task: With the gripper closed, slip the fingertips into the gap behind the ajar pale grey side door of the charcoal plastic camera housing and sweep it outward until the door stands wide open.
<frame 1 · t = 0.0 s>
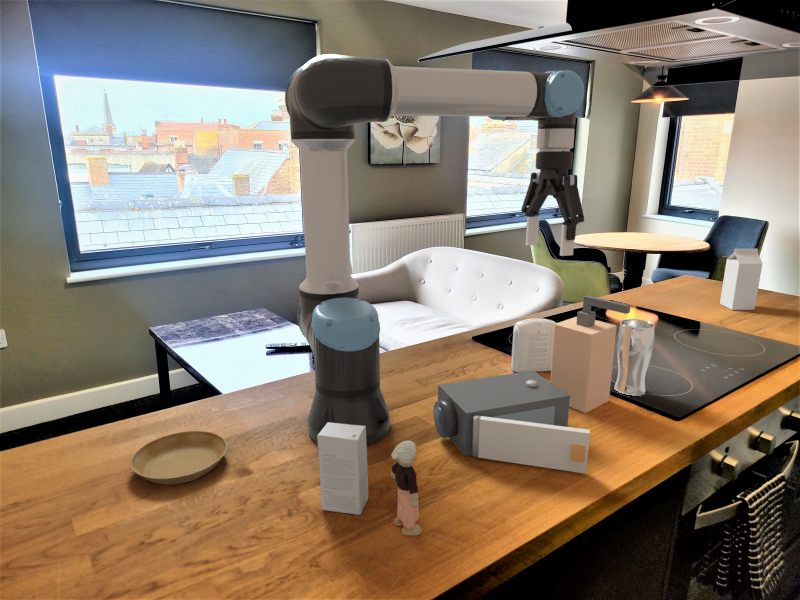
hand: (548, 249, 123), 28 cm above the kitchen counter, fingers open, 13 cm apart
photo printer: (532, 370, 129), on the kitchen counter
milk carton: (736, 307, 178), on the kitchen counter
soap dispenser: (587, 404, 112), on the kitchen counter
beer glass: (629, 391, 118), on the kitchen counter
skincare box: (345, 505, 81), on the kitchen counter
grandmother figurine: (406, 524, 77), on the kitchen counter
side door: (528, 444, 89), point 4 cm above the kitchen counter, hinge at 35.0°
camera housing: (500, 430, 102), on the kitchen counter
plant saucer: (182, 467, 91), on the kitchen counter
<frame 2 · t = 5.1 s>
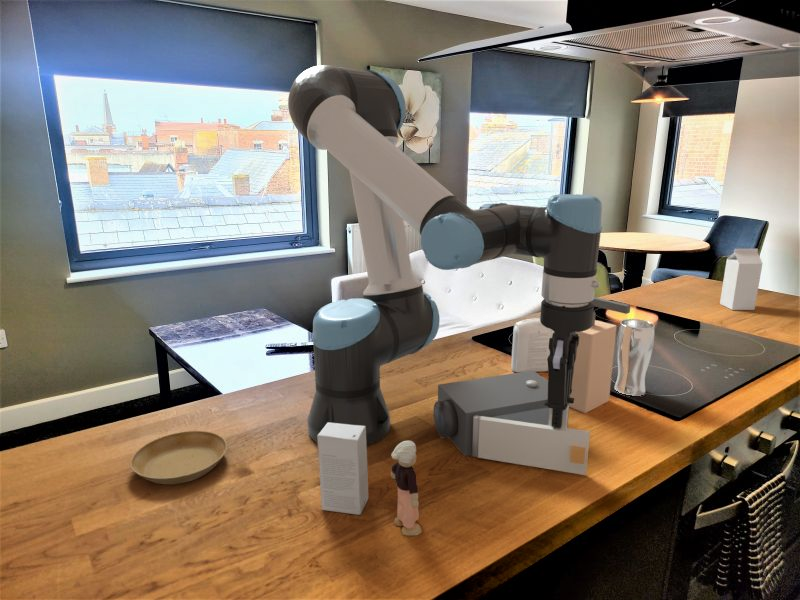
hand: (556, 441, 89), 4 cm above the kitchen counter, fingers closed
side door: (528, 445, 89), point 4 cm above the kitchen counter, hinge at 36.6°, touching gripper
everything else where it was.
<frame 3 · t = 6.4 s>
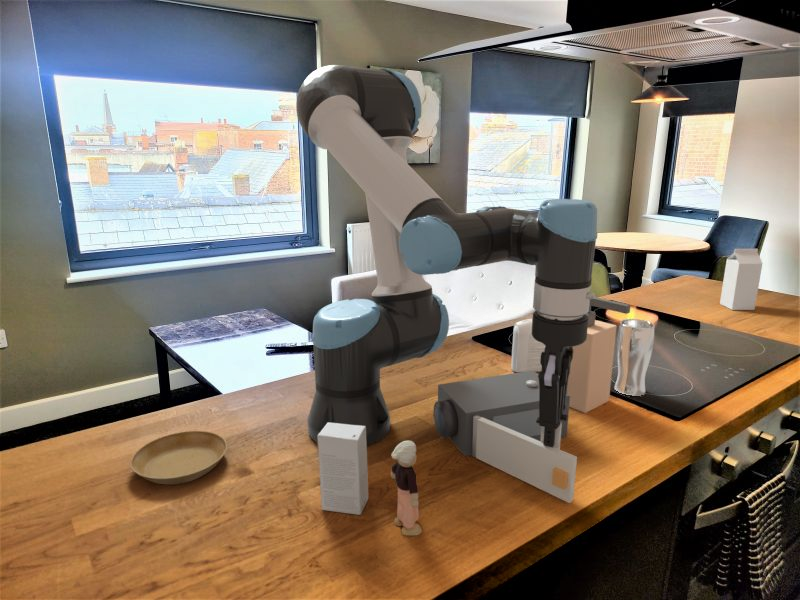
hand: (548, 460, 84), 4 cm above the kitchen counter, fingers closed
side door: (518, 456, 85), point 4 cm above the kitchen counter, hinge at 64.5°, touching gripper
everything else where it was.
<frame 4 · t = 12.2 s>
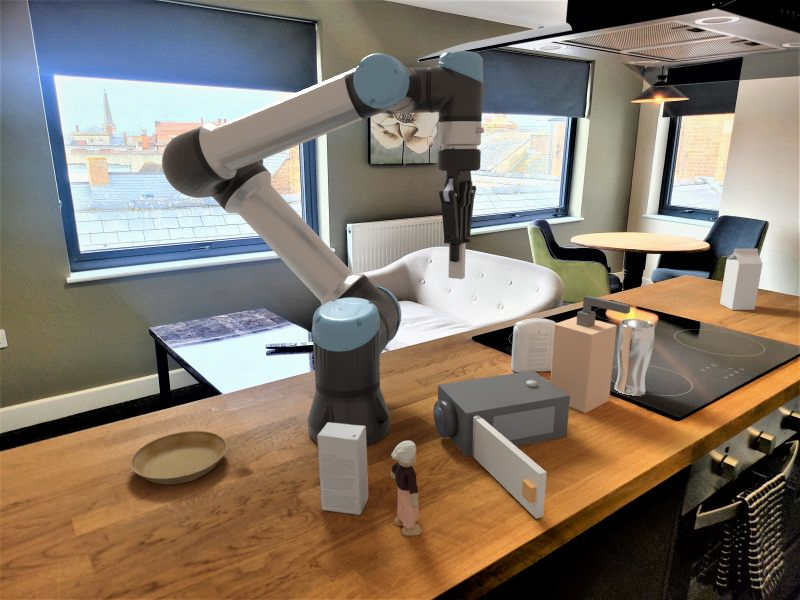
hand: (456, 277, 104), 26 cm above the kitchen counter, fingers closed
side door: (502, 462, 84), point 4 cm above the kitchen counter, hinge at 85.9°
everything else where it was.
at the end: side door at +86° (first picture: +35°) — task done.
